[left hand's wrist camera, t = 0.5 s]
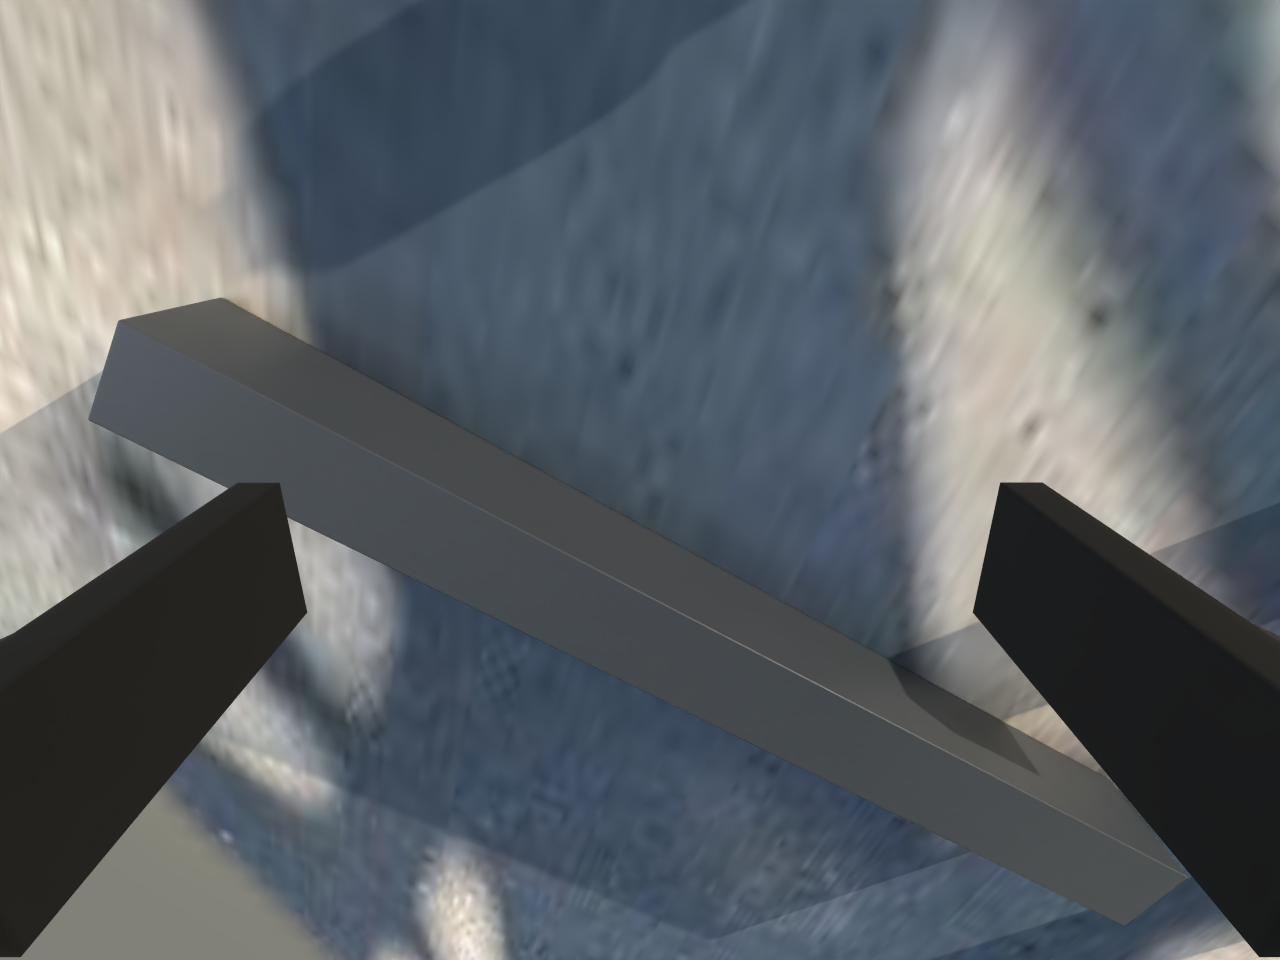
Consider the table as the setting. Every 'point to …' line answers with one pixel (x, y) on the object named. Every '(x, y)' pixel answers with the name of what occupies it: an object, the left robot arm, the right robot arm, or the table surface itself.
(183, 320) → the bar
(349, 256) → the table surface
